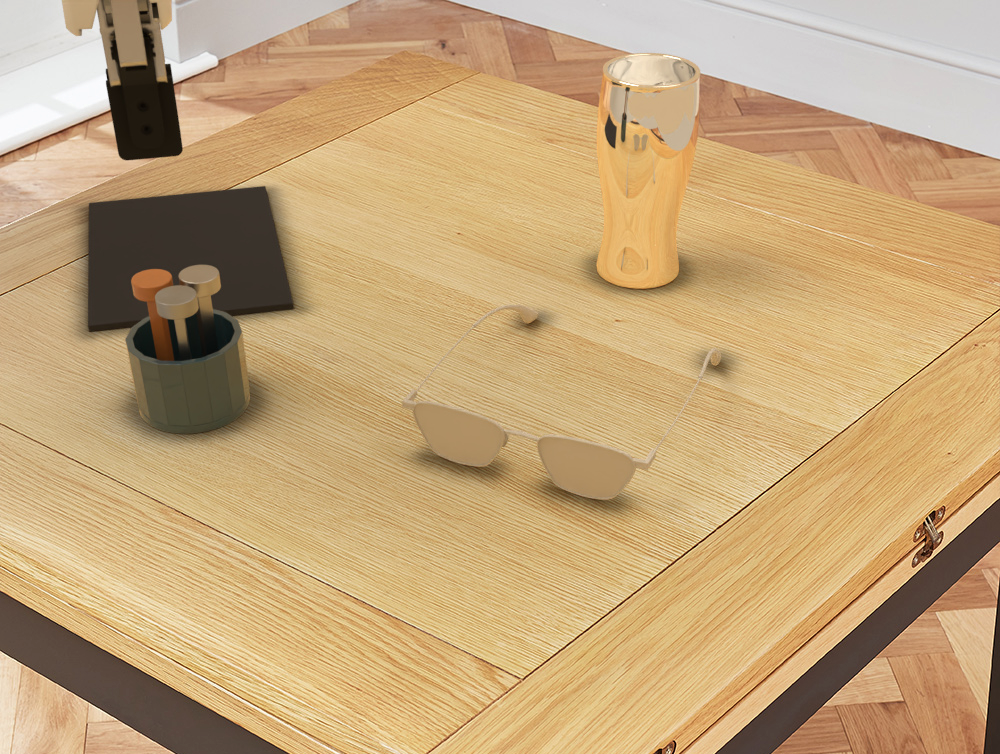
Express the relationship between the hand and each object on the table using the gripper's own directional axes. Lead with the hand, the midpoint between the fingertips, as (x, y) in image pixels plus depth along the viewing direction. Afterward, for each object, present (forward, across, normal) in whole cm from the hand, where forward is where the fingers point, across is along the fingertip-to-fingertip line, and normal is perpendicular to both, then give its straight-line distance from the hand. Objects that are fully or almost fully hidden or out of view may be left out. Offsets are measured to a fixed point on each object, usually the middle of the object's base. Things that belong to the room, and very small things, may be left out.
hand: (150, 148), depth 70 cm
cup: (+19, -5, 0) cm, 20 cm away
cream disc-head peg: (+19, -4, 0) cm, 19 cm away
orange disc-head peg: (+19, -6, -1) cm, 20 cm away
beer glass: (+19, -16, +33) cm, 41 cm away
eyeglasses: (+19, 0, +23) cm, 30 cm away
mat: (+19, -26, 0) cm, 32 cm away
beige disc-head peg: (+19, -6, +1) cm, 20 cm away
